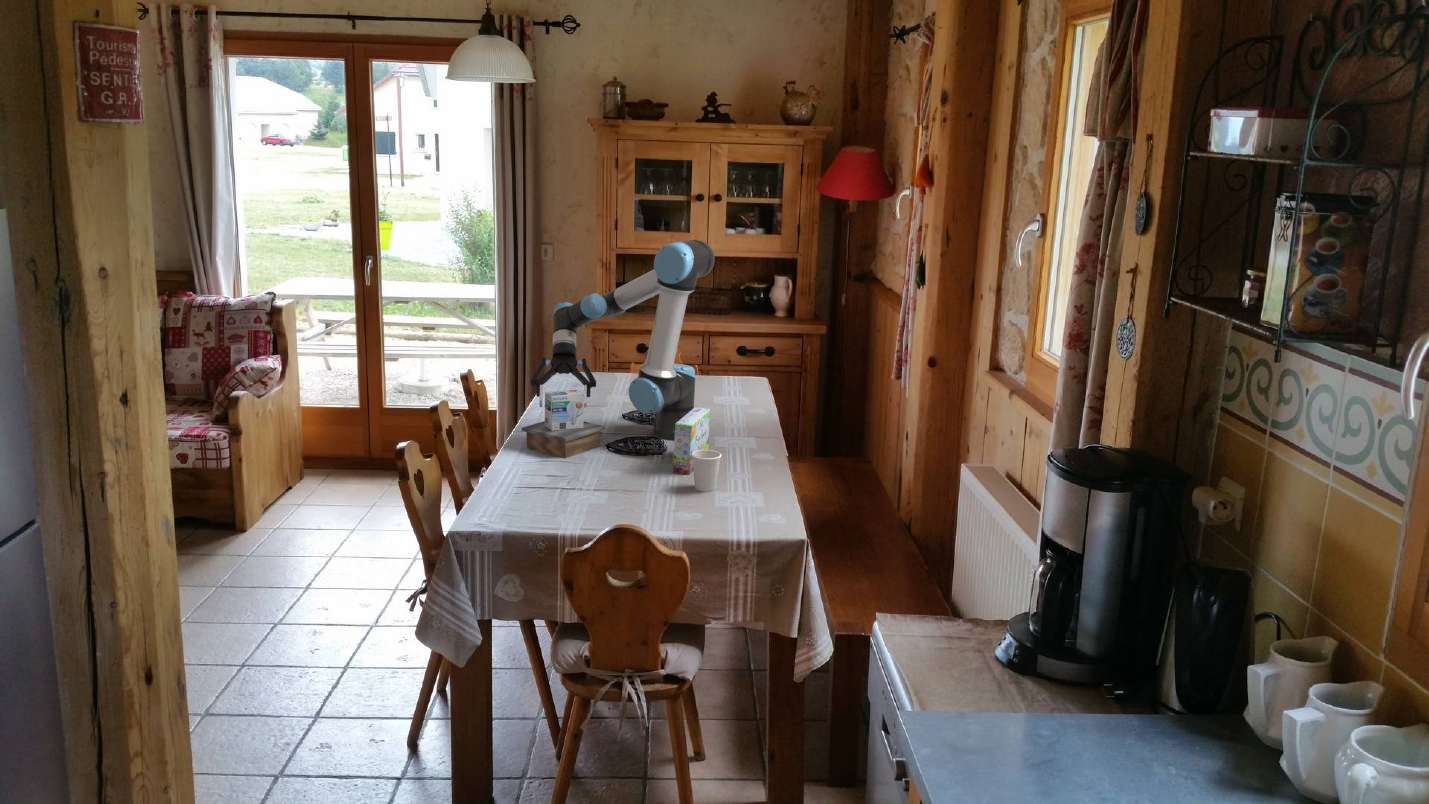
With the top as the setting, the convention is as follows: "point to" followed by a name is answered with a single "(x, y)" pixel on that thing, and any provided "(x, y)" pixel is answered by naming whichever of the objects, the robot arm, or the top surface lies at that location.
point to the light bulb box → (564, 410)
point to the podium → (563, 439)
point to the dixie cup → (705, 469)
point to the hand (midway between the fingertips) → (563, 405)
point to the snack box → (690, 438)
